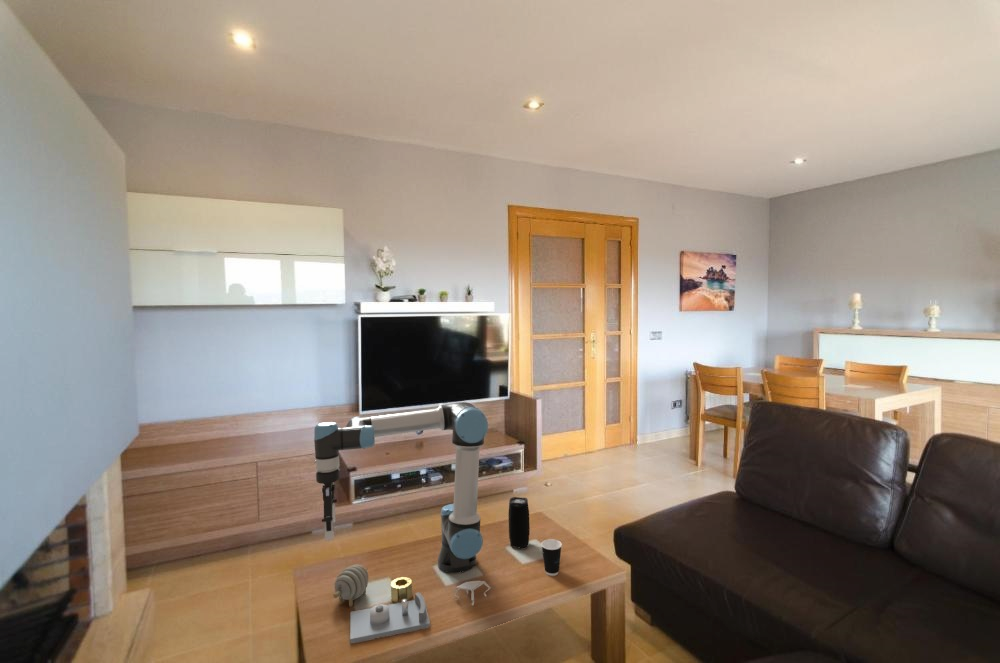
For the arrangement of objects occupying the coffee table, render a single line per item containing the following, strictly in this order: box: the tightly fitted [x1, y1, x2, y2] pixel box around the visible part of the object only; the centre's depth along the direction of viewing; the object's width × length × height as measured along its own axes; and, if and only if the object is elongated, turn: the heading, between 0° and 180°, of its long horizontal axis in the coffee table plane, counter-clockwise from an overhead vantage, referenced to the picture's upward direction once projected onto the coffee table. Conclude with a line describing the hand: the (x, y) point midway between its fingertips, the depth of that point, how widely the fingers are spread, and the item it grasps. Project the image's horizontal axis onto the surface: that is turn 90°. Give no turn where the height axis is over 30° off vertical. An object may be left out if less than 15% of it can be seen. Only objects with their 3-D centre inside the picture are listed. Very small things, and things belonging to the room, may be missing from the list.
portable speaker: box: [508, 496, 531, 550], centre depth 206 cm, size 9×9×20 cm
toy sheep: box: [333, 564, 370, 608], centre depth 169 cm, size 11×17×11 cm, turn 165°
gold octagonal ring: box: [390, 576, 413, 603], centre depth 171 cm, size 7×7×5 cm
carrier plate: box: [349, 591, 431, 644], centre depth 157 cm, size 24×14×5 cm, turn 106°
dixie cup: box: [540, 538, 563, 577], centre depth 184 cm, size 8×8×11 cm
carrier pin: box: [402, 599, 409, 616], centre depth 158 cm, size 2×2×4 cm
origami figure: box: [453, 580, 491, 606], centre depth 169 cm, size 12×8×5 cm
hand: (330, 530), depth 165 cm, fingers open, 13 cm apart
